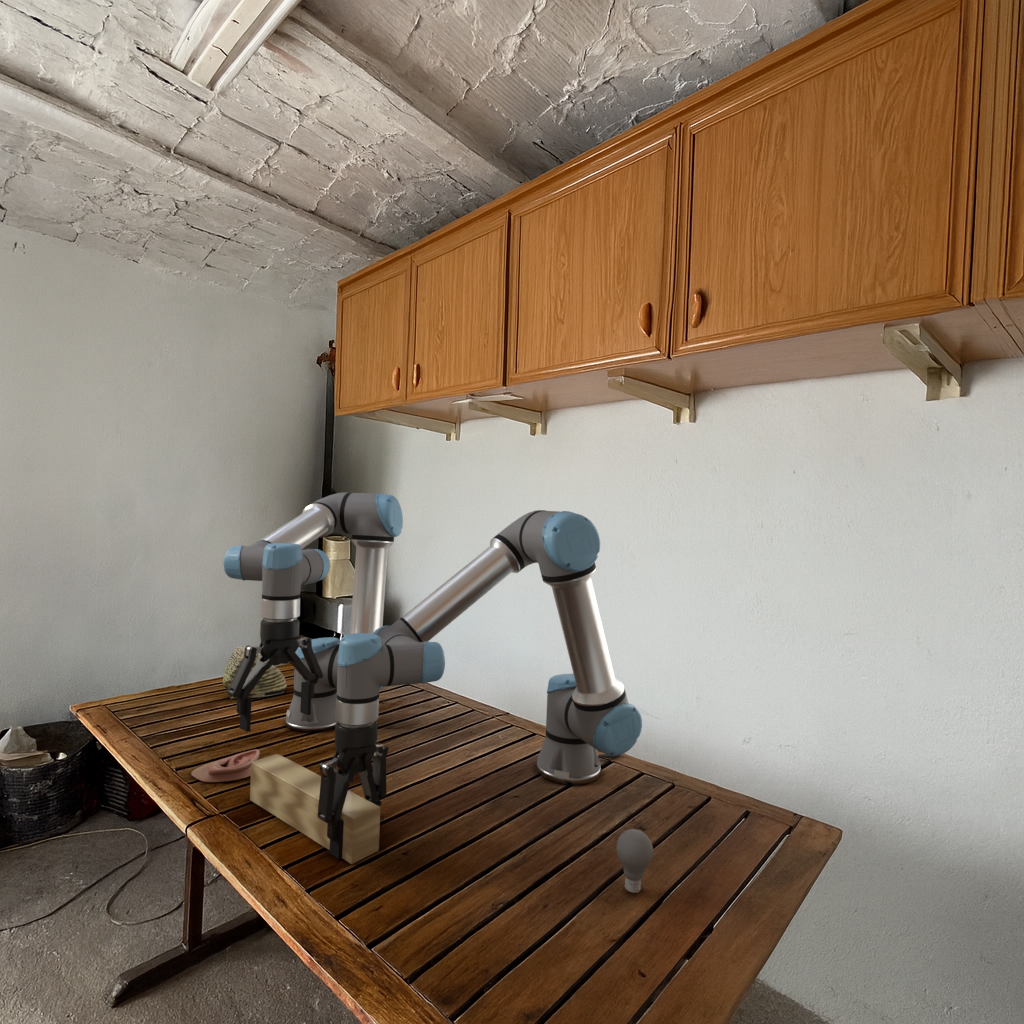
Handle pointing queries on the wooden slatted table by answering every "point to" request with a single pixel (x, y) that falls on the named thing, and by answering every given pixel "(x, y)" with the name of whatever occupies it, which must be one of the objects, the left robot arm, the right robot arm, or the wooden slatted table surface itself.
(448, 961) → the wooden slatted table surface
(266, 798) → the birch beam
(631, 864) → the light bulb
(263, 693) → the fossil
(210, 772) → the anatomical model
